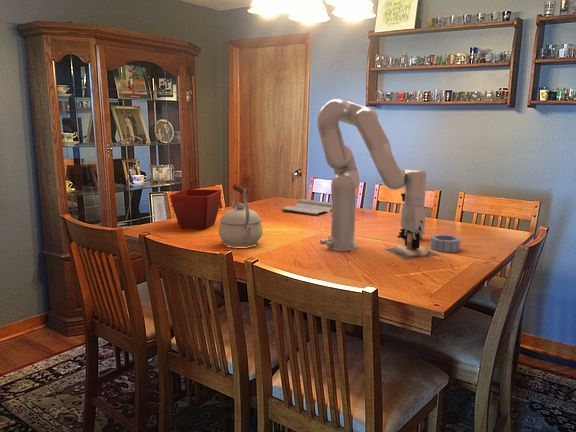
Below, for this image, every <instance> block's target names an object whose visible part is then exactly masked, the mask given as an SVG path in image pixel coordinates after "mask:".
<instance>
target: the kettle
mask: <svg viewBox="0 0 576 432" xmlns="http://www.w3.org/2000/svg"><path fill="white" fill-rule="evenodd" d="M232 189H233V197H232V203H231V205H232V206H231V207H232V208H231V209H229V210H226V211H225V212H224V213H222V215H221V217H220V218H219V222H220V223H219V228H218V236H219V238H220V239H221V240H222V241H223V245H224V246H225V245H226V246H225V247H227V246H231V247H248V246H253V245H256V244H257V243H258V241H259V240H260V239H261V238H262V237H263V236H262V235H263V232H264V231H263V226H262V223H261V222H262V220H263V219H262V218H261V217H260V216H259V213H258V212H257V211H255V210H253V209H251V208H249V204H248V198H247V194H248V193H249V191H248V189H247V188H246V187H243V186H241V185H239V184H238V183H234V184H233V185H232ZM238 193H240V194H241V195H242V196H243V197H242V198H243V199H242V200H243V203H242V202H237V204H236V200H237V197H238ZM257 245H258V244H257ZM257 245H256V246H257Z"/></svg>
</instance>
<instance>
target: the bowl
mask: <svg viewBox="0 0 576 432" xmlns="http://www.w3.org/2000/svg"><path fill="white" fill-rule="evenodd" d="M429 244H430V246H429V247H430V249H431V250H433V251H436V252H441V253H456V252H459V251H460V249H461V238H460V237H458V236H455V235H451V234H450V235H449V234H433V235H432V236H430V243H429Z"/></svg>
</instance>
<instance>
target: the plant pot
mask: <svg viewBox="0 0 576 432" xmlns="http://www.w3.org/2000/svg"><path fill="white" fill-rule="evenodd" d="M221 196H222V190H221V189H199V188H197V189H195V188H185V189H182V190H180V191H176V192H174V193H172V194H171V193H170V195H169V198H170V202H171V205H172V210H173V213H174V215H175V219H176V220H177V222H178V224H179V226H180V228H181V229H186V228H192V230H206V229H208V228H209V227H212V226H213V225H215V224H216V221H217V216H218V213H219V209H220V203H221V199H222V198H221Z"/></svg>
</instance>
